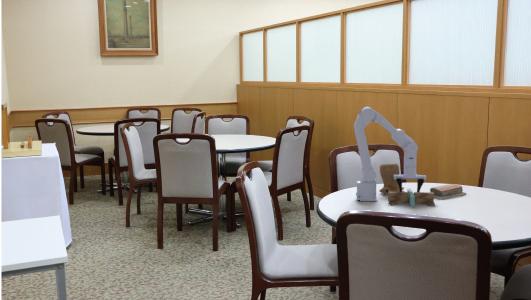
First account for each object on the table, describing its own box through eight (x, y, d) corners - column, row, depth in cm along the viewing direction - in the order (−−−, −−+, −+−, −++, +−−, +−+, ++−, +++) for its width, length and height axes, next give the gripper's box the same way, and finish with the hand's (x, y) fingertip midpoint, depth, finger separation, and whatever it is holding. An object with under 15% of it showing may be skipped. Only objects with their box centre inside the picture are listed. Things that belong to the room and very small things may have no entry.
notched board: (388, 204, 215) (389, 194, 214) (387, 200, 223) (388, 190, 222) (434, 205, 211) (435, 195, 210) (432, 201, 219) (432, 190, 218)
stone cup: (384, 188, 247) (384, 160, 245) (406, 190, 240) (407, 162, 238) (373, 194, 235) (373, 164, 233) (396, 197, 228) (396, 166, 226)
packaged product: (450, 182, 238) (466, 185, 230) (449, 191, 239) (466, 195, 230) (424, 186, 230) (441, 190, 221) (424, 196, 230) (440, 200, 222)
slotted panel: (414, 207, 209) (414, 196, 208) (410, 207, 209) (411, 196, 209) (410, 198, 225) (410, 188, 224) (407, 198, 225) (407, 188, 224)
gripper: (425, 164, 223) (424, 192, 225) (393, 164, 226) (393, 192, 228) (427, 167, 216) (426, 196, 218) (394, 167, 219) (394, 195, 221)
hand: (409, 194), depth 222 cm, fingers open, 7 cm apart
